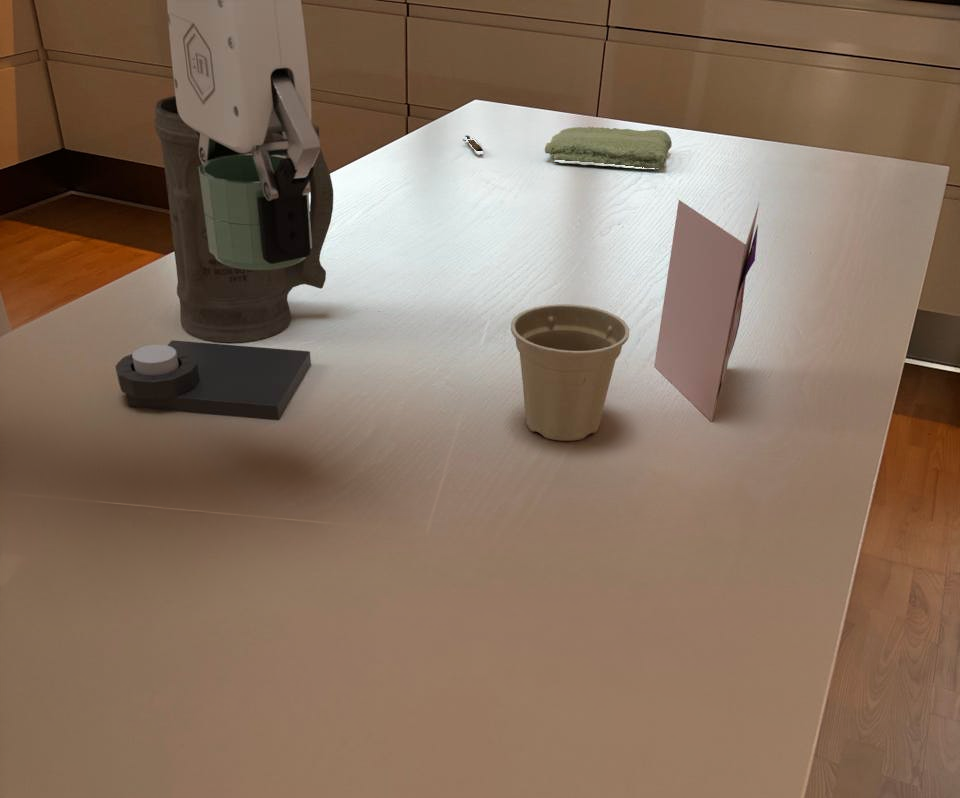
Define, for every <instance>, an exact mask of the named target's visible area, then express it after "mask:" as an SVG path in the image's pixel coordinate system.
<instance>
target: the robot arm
mask: <svg viewBox="0 0 960 798" xmlns="http://www.w3.org/2000/svg"><path fill="white" fill-rule="evenodd" d="M166 6H167V7H166V8H167V20H168V21H167V23H168V34H169V43H170V44H169V45H170V55H171V57H170V58H171V64H172V66H171V67H172V76H173V87H174V96H176V104H177V110H178V113H179V115H180V117H181V119H182V120H183V121H184V122H185V123H186V124H187V125H188V126H189V127H191V128H192V129H194V130H196V132H197V135H198V137H199V157H200V160H201V162H202V164H203V163H204V162H205V161H208V160H211V159H214V158H217V157H221V156H228V155H235V154H244V153H248V152H250V151H251V152H252V156H253V159H254V163H255V166H256V170H257V173H258V177H259V180H260V184H261V187H262V191H263V194H264V197H259V198H257V201H258V211H259V222H260V232H261V242H262V253H263V259H264V260H265V261H267V262H268V263H270V264H274V263H279V262H284V261H289V260H294V259H299V258H304V257H307V256H308V255H309V254H310V235H309V220H308V205H307V195H308V194H309V195H310V189H311V188H310V181H309V180H310V179H311V177H312V175H313V170H314V167H313V166H314V163H315V161H316V159H317V156H318V154H319V152H320V147H321V140H320V137H319V138H318V136H317V133H316V131H315V129H314V127H313V125H312V124H313V123H312V94H311V91H312V90H311V77H310V67H309V58H308V57H309V56H308V47H307V46H308V45H307V38H306V31H305V30H306V29H305V22H304V14H303V6H302V0H166ZM270 133H271V134H273V135H275V136H277V137H279V138H281V139H283V140H276V141H269V142H264V140H265V137H266V134H270ZM279 154H286V156H285V157H286V158H284V159H281V161H280V163H279V165H278V167H277V169H276V171H275V173H274V171H273V168H272V164H271V161H270V157H269V156H272V155H279Z"/></svg>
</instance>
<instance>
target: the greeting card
mask: <svg viewBox="0 0 960 798" xmlns="http://www.w3.org/2000/svg"><path fill="white" fill-rule="evenodd" d="M759 207H760V202H758V204H757V207H756V210H755V212H754V216H753V219H752V223H751V226H750V228H749V232H748V236H747V239H746V241H745V243H744V242H743V241H742V240H740V239H738V238H737V237H736V236H734V235H733V234H731V233H730V232H728V231H726V230H725V229H724V228H722V227H721V226H719V225H718V224H716V223H715V222H713V221H712V220H710V219H709V218H707V217H706V216H704V215H703V214H701V213H700V212H698V211H696V210H695V209H694V208H692V207H690V206H689V205H687V204H686V203H685V202H683V201H682V200H680V199H678V203H677V209H676V216H675V222H674V229H673V236H672V243H671V249H670V256H669V262H668V263H669V264H668V269H667V277H666V283H665V291H664V298H663V304H662V310H661V317H660V324H659V331H658V337H657V345H656V351H655V359H654V365H653V367H654V368H655V369H656V370H657V371H659V373H660V374H662V376H664V377H665V379H666V380H668V381H669V382H670V383H671V384H672V385H673V386H674V387H675V388H676V389H677V390H678V391H679V392H680V393H681V394H682V395H683V396H684V397H685V398H686V399H687V400H688V401H689V402H690V403H691V404H692V405H693V406H694V407H695V408H697V410H699V412H701V413H702V415H704V416H705V417H706V418H707V419H708V420H709V421H710V422H713V419H714V415H715V412H716V409H717V405H718V402H719V398H720V394H721V391H722V386H723V383H724V380H725V376H726V372H727V370H728V364H729V360H730V357H731V354H732V351H733V348H734V346H735V342H736V339H737V337H738V332H739V327H740V323H741V317H742V311H743V302H744V295H745V288H746V278H747V275H748V273H749V272H750V269H751V268H752V266H753V265H754V263H755V261H756V252H757V241H758V230H759V229H758V228H759V224H757V225H756V222H757V216H758V211H759ZM755 228H756V229H755Z"/></svg>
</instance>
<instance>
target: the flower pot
mask: <svg viewBox="0 0 960 798" xmlns="http://www.w3.org/2000/svg"><path fill="white" fill-rule="evenodd" d="M510 331H511V334H512V337H514V338H515V339H514V340H515V347H516V348H517V351H518V352H519V360H520V367H521V368H520V370H521V379H522V390H523V399H524V400H523V402H524V415H525V423H526V426H527V427H528V429H529V430H530V431H531V432H532V433H535V432H538V433H539V434H540V435H542V436H543V437H544V438H545V439H548V440H552V441H553V440H554V441H561V442H562V441H564V442H565V441H567V442H569V441H580V440H583V439H584V438H586V437H587V436H588V435H590V434H595V433H596V432H597V431H598V430H599V427H600V424H601V419H602V414H603V411H604V406H605V402H606V400H607V395H608V392H609V387H610V383H611V380H612V376H613V371H614V367H615V364H616V360H617V359H618V358H619V356H620V354H621V352H622V349H623V345H625V344H626V343H627V341H628V339H629V337H630V328H629V325H627V323H626V322H625V321H624V320H623V319H622V318H621V317H619V315H616V314H613V313H612V312H609V311H607V310H604V309H600V308H597V307H593V306H589V305H581V304H570V303H569V304H568V303H564V304H562V303H559V304H557V303H556V304H545V305H540V306H535V307H532V308H529V309H526V310H523V311H521V312H519V313H517V314H516V315H515V316H514V317H513V318H512V320H511V322H510Z"/></svg>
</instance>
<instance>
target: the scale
mask: <svg viewBox="0 0 960 798" xmlns="http://www.w3.org/2000/svg"><path fill="white" fill-rule="evenodd" d="M166 346H170V347H172V348H174V349H175V350H176V352H177V358H178V364H179V368H178V369H177V370H175V371H173V372H170V373H168V374H162V375H155V376H151V375H141V374H139V373H136V371H135V368H134V362H133V357H132V354H133V353H131V354H127V355H125V356H124V357H122V358H121V359H120V360H119V361H118V362H117V363H116V364H115V371H116V376H117V380H118V385H119V388H120V390H121V392H122V393H124V394H125V395H126V401H127V404H128V408H132V409H133V408H134V409H144V410H154V411H168V412H177V413H191V414H202V415H214V416H225V417H238V418H249V419H260V420H262V419H263V420H272V421H279V420H280V419H281V417H282V416H283V414H284V412H285V411H286V408H287V407H288V405H289V404H290V402H291V400H292V398H293V397H294V395H295V394H296V392H297V390H298V388H299V386H300V385H301V384H302V381H303V380H304V378H305V376H306V374H307V373H308V371H309V369H310V368H311V366H312V362H311V361H312V360H311V350H310V351H309V350H297V349H286V348H285V349H284V348H274V347H273V348H272V347H259V346H247V345H236V344H223V343H222V344H221V343H211V342H199V341H185V340H174V339H172V340H170V342H169V343H168V344H166Z"/></svg>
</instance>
